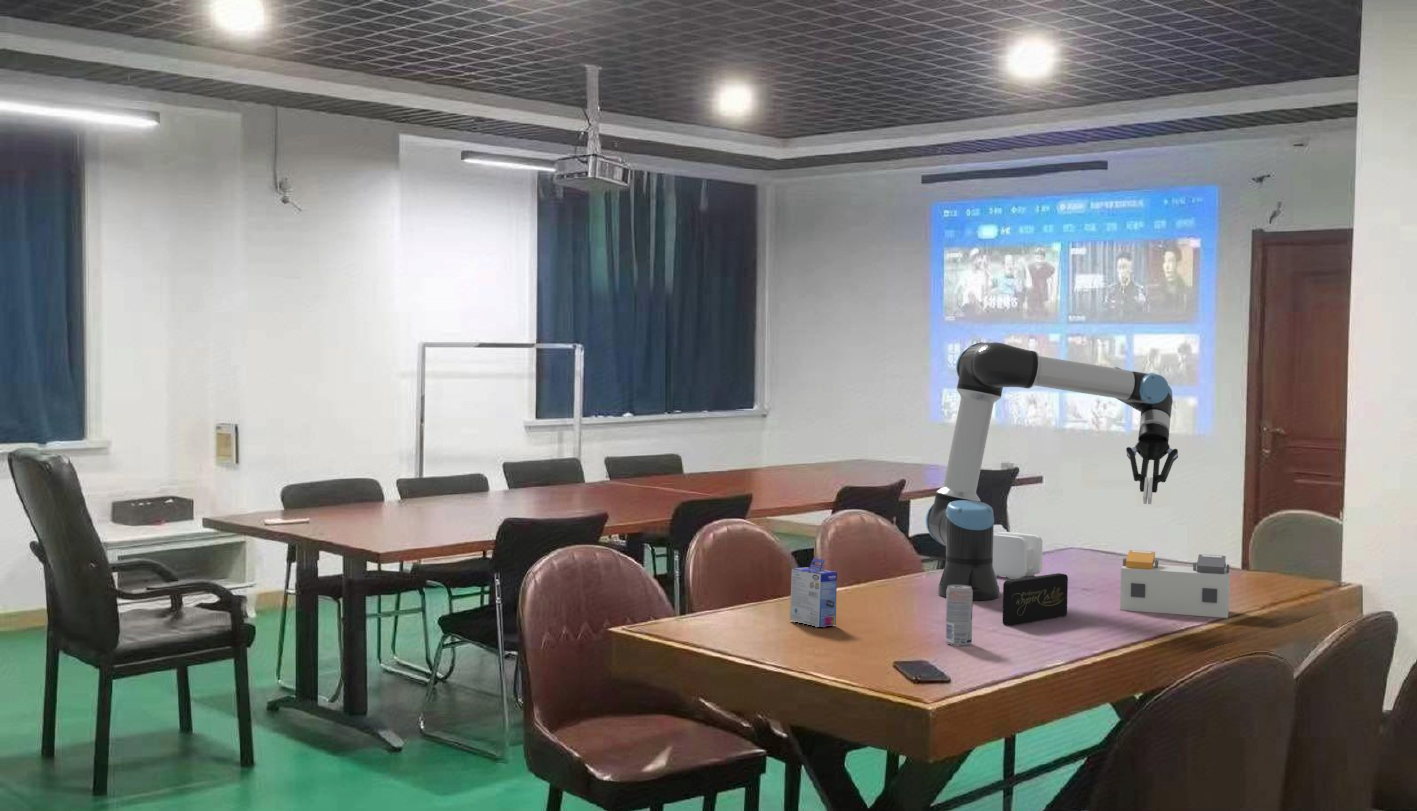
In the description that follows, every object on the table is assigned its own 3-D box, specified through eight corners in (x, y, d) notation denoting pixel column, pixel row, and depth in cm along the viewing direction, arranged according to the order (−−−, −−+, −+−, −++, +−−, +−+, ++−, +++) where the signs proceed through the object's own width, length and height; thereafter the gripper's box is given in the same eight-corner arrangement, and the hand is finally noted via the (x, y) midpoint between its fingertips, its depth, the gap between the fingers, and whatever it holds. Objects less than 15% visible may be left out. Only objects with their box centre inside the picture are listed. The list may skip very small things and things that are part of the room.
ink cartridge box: (837, 626, 300) (838, 561, 300) (819, 629, 297) (820, 563, 296) (806, 619, 308) (807, 555, 308) (789, 622, 304) (789, 557, 304)
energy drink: (968, 641, 285) (969, 584, 285) (974, 646, 280) (975, 588, 280) (943, 641, 285) (944, 584, 285) (948, 646, 280) (949, 588, 280)
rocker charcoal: (1197, 560, 326) (1197, 553, 326) (1226, 562, 323) (1226, 555, 323) (1195, 571, 319) (1195, 565, 318) (1225, 573, 316) (1225, 566, 316)
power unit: (1124, 603, 334) (1125, 555, 333) (1228, 610, 324) (1230, 562, 324) (1120, 609, 324) (1121, 561, 324) (1227, 618, 315) (1228, 568, 314)
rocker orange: (1128, 556, 332) (1128, 549, 332) (1155, 557, 330) (1156, 551, 329) (1125, 567, 325) (1125, 560, 325) (1153, 569, 322) (1153, 562, 322)
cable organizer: (976, 574, 377) (976, 533, 377) (996, 570, 385) (997, 529, 385) (1023, 581, 367) (1024, 538, 367) (1043, 576, 375) (1044, 534, 374)
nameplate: (1009, 626, 303) (1010, 582, 302) (1002, 625, 304) (1003, 580, 304) (1067, 616, 316) (1067, 573, 315) (1060, 615, 317) (1061, 572, 317)
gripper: (1181, 441, 355) (1175, 511, 340) (1128, 440, 360) (1120, 508, 345) (1180, 422, 350) (1174, 492, 335) (1126, 420, 355) (1118, 489, 340)
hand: (1147, 500), depth 340 cm, fingers closed
